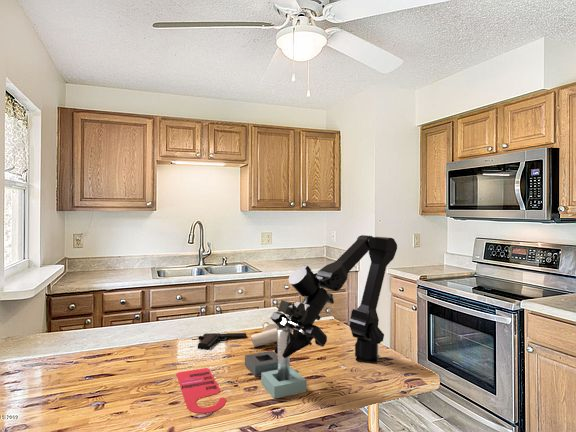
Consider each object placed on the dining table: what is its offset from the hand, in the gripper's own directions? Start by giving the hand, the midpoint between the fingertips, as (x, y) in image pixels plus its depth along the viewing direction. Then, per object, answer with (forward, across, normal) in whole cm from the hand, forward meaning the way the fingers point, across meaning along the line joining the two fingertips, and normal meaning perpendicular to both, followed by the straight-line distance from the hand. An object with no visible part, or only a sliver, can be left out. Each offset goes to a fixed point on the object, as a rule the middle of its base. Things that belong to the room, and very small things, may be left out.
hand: (279, 355), depth 101 cm
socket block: (+3, -13, +9) cm, 17 cm away
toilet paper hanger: (-7, -36, +20) cm, 42 cm away
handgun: (+4, -40, +10) cm, 42 cm away
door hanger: (+18, -12, -5) cm, 23 cm away
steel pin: (+4, 0, +6) cm, 7 cm away
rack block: (+5, 0, +7) cm, 9 cm away
